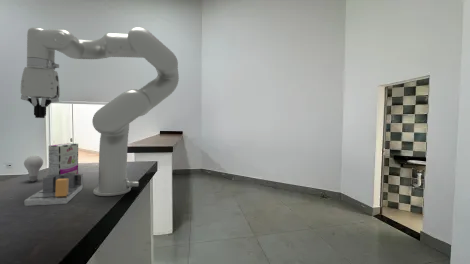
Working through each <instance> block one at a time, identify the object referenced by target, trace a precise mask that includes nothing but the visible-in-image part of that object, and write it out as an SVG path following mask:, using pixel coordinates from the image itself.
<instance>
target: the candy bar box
mask: <svg viewBox="0 0 470 264" xmlns="http://www.w3.org/2000/svg"><path fill="white" fill-rule="evenodd" d="M66 173H75V174H79V143H77V142H75V143H74V142H68V143H67V142H66V143H60V144H52V145H48V175H54V174H66Z"/></svg>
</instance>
